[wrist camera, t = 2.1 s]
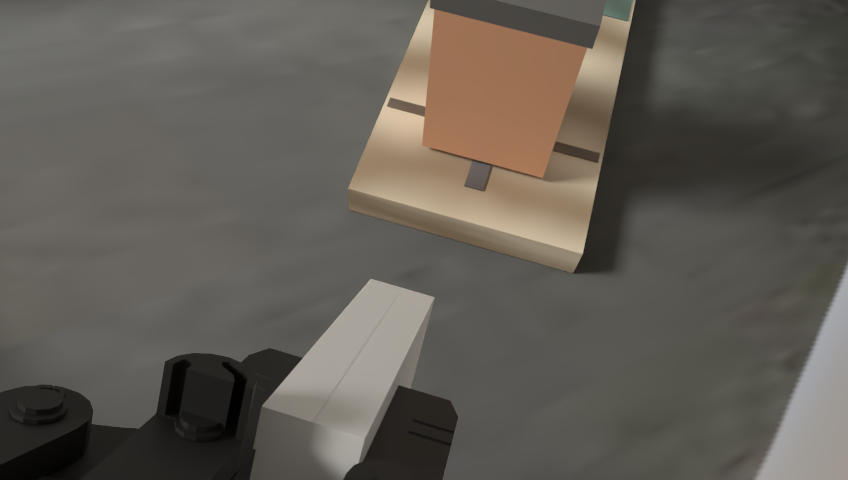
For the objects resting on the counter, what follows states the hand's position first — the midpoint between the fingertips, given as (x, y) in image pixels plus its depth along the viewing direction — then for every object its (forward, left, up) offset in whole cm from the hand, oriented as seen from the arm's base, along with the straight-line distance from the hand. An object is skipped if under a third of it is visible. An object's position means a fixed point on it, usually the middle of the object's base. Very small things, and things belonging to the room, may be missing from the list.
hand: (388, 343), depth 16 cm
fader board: (-14, +24, -17) cm, 33 cm away
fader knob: (-10, +17, -14) cm, 24 cm away
